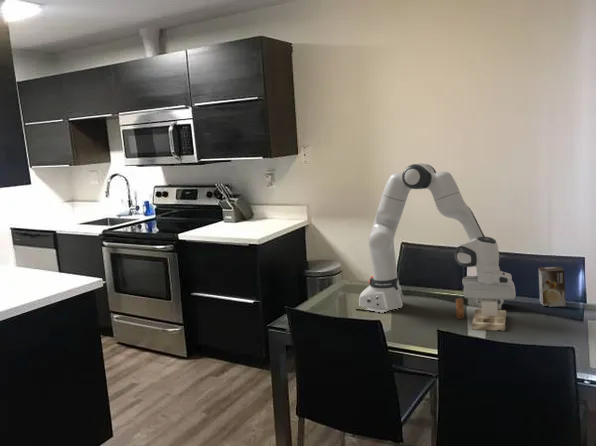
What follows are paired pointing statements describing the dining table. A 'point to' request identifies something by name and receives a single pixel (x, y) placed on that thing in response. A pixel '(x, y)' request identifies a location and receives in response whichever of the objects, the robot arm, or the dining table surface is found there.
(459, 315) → the peg
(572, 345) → the dining table surface
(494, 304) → the white cube
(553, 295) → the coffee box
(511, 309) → the dining table surface
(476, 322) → the socket board
